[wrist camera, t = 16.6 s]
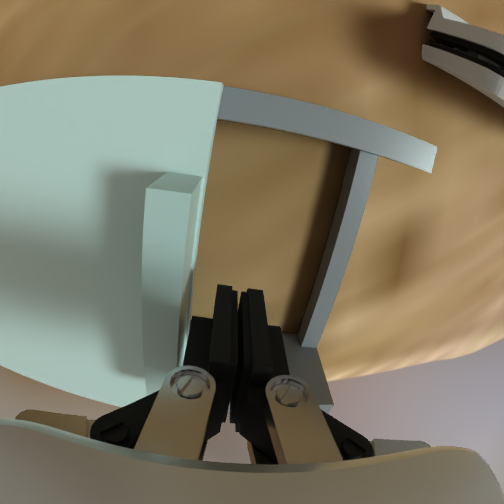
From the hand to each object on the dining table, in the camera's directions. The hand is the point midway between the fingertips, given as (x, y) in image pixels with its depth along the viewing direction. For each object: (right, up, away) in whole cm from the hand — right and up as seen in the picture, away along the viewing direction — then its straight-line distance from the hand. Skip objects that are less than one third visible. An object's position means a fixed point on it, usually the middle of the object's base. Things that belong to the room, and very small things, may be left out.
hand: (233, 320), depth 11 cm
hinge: (+20, +16, +4) cm, 26 cm away
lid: (-10, +2, 0) cm, 10 cm away
